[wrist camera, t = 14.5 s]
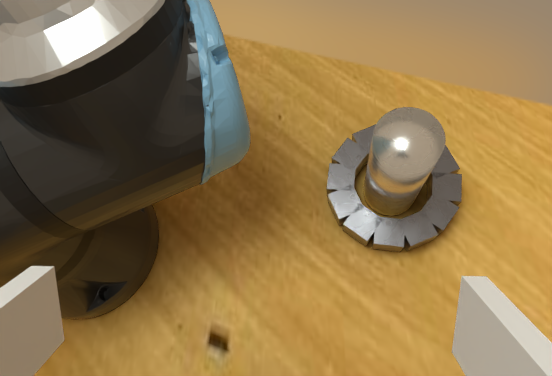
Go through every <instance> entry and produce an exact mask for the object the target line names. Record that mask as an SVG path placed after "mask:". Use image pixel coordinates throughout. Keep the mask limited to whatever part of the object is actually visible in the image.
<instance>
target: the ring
mask: <svg viewBox="0 0 552 376" xmlns="http://www.w3.org/2000/svg"><path fill="white" fill-rule="evenodd" d="M375 126H376V125H373V126H371V127H368V128H366V129H364V130H361V131H359V132H356V133H354V134H352V140H350V139H349V138H347V139H346V141H345V142H344V143H343V144H342V146H341V147H340V148H339V149H338V151H337V152H336V153H335V155H334V156H333V157H332V163H330V164H329V173H328V181H327V197H328V203H329V205H330V207H331V209H332V212H333V214H334V216H335V218H336V220H337V222H338V225H342V224H343V231H345V232H346V233H347V234H349V235H350V236H352V237H353V238H354V239H356V240H357V241H359V242H360V243H361V244H363V245H364V246H366V245H367V244H368V242H369V241H370V240H371V238H372V249H378V250H386V251H395V252H400V251H401V250H402V249H403V248H405V250H406V251H408V250H411V249H413V248H415V247H418V246H420V245H423V244H425V243H427V242H430V241H432V240H433V239H434V238H435V237H436V236H438V235H439V234H440V233H441V232H442V231H443V230H444V229H445V227H446V226H447V225H448V223H449V222H450V220H451V219H452V217H453V216H454V214H455V213H456V212H457V210H458V209H459V207H458V204H459V203H460V202H461V182H462V174H456V173H457V172H458V170H459V169H460V168H459V166H458V165H457V163H456V161H455V160H454V158H453V156H452V155H451V153H450V151H449V150H448V148H447V147H446V145H445V147H444V150H443V152H442V154H441V156H440V158H439V159H438V161H437V163H436V164H435V166H434V168H433V170H432V171H431V173H430V175H429V176H428V178H427V180H426V181H425V182H426V183H427V203H426V204H425V206H424V207H423V208H422V210H421V211H419V212H417V213H415V214H412V215H410V216H408V217H405V218H403V219H395V218H386V217H379V216H378V215H376V214H375V213H373V212H372V211H370V210H369V209H367V208H366V207H365V206H363V205H362V203H361V201H360V199H359V197H358V195H357V193H356V191H355V189H354V180H355V177H356V176H357V174H358V173H359V172H360V170H361V169H362V168H363V166H364V165H365V164H367V163H368V159H369V153H370V148H371V142H372V137H373V131H374V128H375Z"/></svg>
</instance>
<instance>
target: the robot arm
mask: <svg viewBox="0 0 552 376" xmlns="http://www.w3.org/2000/svg"><path fill="white" fill-rule="evenodd" d="M249 147H250V128H249V123H248V118H247V113H246V109H245V105H244V101H243V97H242V94H241V90H240V87H239V83H238V80H237V76H236V73H235V70H234V67H233V64H232V62H231V60H230V58H229V57H228V50H227V47H226V45H225V41H224V37H223V33H222V31H221V28H220V25H219V22H218V20H217V17H216V15H215V12H214V10H213V8H212V5H211V3H210V1H209V0H0V376H33V375H34V374H35V373H36V372H37V371H38V370H39V369H40V368H41V366H42V365H43V364H44V363H45V362H46V361H47V360H48V358H49V357H50V356H51V355H52V354H53V353H54V352H55V350H56V349H57V348H58V347H59V346H60V345H61V344H62V343H63V341H64V333H63V325H62V318H64V319H87V318H93V317H97V316H100V315H103V314H105V313H107V312H110V311H112V310H113V309H115V308H117V307H118V306H120V305H121V304H123V303H124V302H125V301H126V300H128V299H129V298H130V297H131V296H132V295H133V294H134V293H135V292H136V291H137V290H138V288H139V287H140V286H141V285H142V283H143V282H144V280H145V279H146V277H147V275H148V273H149V271H150V269H151V267H152V265H153V262H154V259H155V256H156V253H157V248H158V239H159V230H158V222H157V218H156V214H155V211H154V209H153V206H152V205H151V204H153V203H156V202H158V201H161V200H163V199H165V198H168V197H170V196H172V195H175V194H177V193H179V192H182V191H184V190H186V189H189V188H191V187H193V186H196V185H198V184H200V185H202V184H204V183H205V182H207V181H208V180H209V178H210V177H212V176H214V175H216V174H218V173H220V172H222V171H224V170H226V169H228V168H230V167H232V166H234V165H236V164H237V163H239V162H240V161H241V160H242V159H243V157H244V156H245V155H246V154H247V152H248V150H249ZM452 353H453V355H454V356H455V358H456V360H457V362H458V363H459V365H460V367H461V368H462V370H463V372H464V374H465V375H466V376H552V343H551V342H550V341H549V340H548V339H547V338H546V337H545V336H544V335H543V334H542V333H541V332H540V331H539V330H538V329H537V328H536V327H535V325H534V324H533V323H532V322H531V321H530V320H529V319H528V318H527V317H526V316H525V315H524V314H523V313H522V312H521V311H520V310H519V309H518V308H517V307H516V306H515V305H514V304H513V303H512V302H511V301H510V300H509V299H508V298H507V297H506V296H505V295H504V294H503V293H502V292H501V291H500V290H499V289H498V288H497V287H496V286H495V285H494V284H493V283H492V282H491V281H490V280H489V279H488V278H487V277H485V276H462V278H461V285H460V293H459V301H458V309H457V316H456V324H455V332H454V339H453V347H452Z"/></svg>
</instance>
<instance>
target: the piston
mask: <svg viewBox="0 0 552 376" xmlns="http://www.w3.org/2000/svg"><path fill="white" fill-rule="evenodd" d="M444 147H445V133H444V130H443V128H442V126H441V124H440V123H439V121H438V120H437V119H436V118H435V117H434V116H433V115H431V114H430V113H428V112H426V111H424V110H422V109H418V108H413V107H403V108H397V109H394V110H392V111H390V112H388V113H386V114H385V115H384V116H383V117H381V119H380V120H379V121H378V122H377V124H376V126H375V128H374V131H373V137H372V142H371V148H370V153H369V159H368V165H367V170H366V176H365V181H364V187H363V195H364V198H365V201H366V203H367V204H368V205H369V207H370V208H371V209H373V210H374V211H375V212H377V213H379V214H382V215H386V216H394V215H399V214H401V213H403V212H405V211H406V210H408V209H409V208H410V207H411V205H412V204H413V202H414V200H415V199H416V197H417V195H418V193H419V192H420V190H421V188H422V187H423V185H424V183H425V181H426V180H427V178H428V176H429V175H430V173H431V171H432V170H433V168H434V166H435V164H436V163H437V161H438V159H439V158H440V156H441V154H442V152H443V150H444Z"/></svg>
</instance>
